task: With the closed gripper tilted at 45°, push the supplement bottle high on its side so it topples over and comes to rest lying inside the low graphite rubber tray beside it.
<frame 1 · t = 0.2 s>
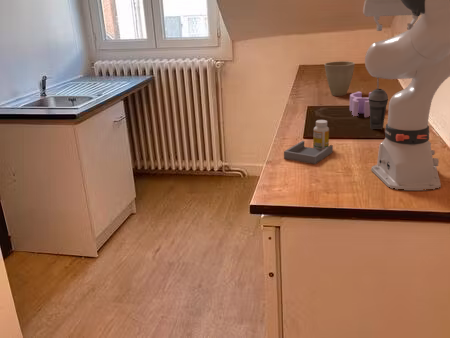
hand: (394, 30, 149), 39 cm above the countertop, tool pointing down, fingers open, 8 cm apart
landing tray: (308, 155, 158), on the countertop
clip: (363, 112, 208), on the countertop
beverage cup: (376, 128, 183), on the countertop
supplement bottle: (320, 147, 166), on the countertop
plant pot: (338, 94, 242), on the countertop
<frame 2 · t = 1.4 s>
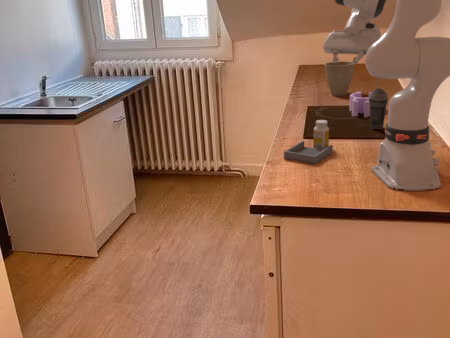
hand: (344, 62, 166), 28 cm above the countertop, tool tilted 45°, fingers open, 6 cm apart
nothing on the countertop moved.
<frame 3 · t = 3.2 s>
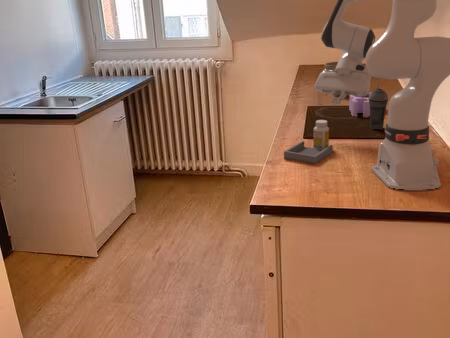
hand: (335, 102, 169), 14 cm above the countertop, tool tilted 45°, fingers closed
nothing on the countertop moved.
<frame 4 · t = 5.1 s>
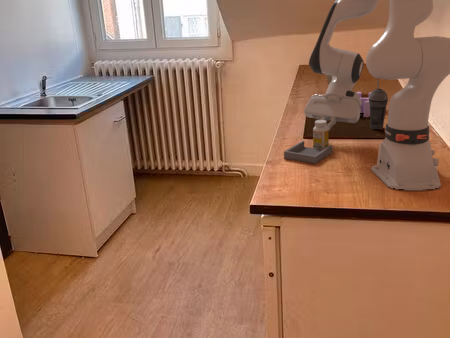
hand: (325, 129, 166), 6 cm above the countertop, tool tilted 45°, fingers closed, pressing on supplement bottle
supplement bottle: (320, 147, 165), on the countertop, touching gripper
everything else where it was.
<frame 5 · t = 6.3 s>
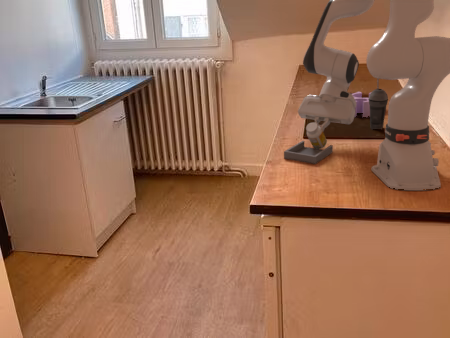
hand: (318, 130, 163), 6 cm above the countertop, tool tilted 45°, fingers closed, pressing on supplement bottle
supplement bottle: (320, 143, 165), point 1 cm above the countertop, touching gripper, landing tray
everything else where it was.
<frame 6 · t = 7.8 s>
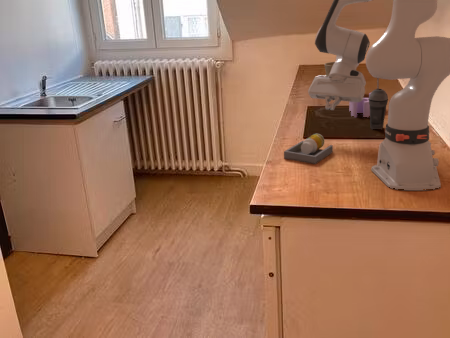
hand: (329, 109, 166), 13 cm above the countertop, tool tilted 45°, fingers closed
supplement bottle: (318, 140, 163), point 3 cm above the countertop, touching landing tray
everything else where it was.
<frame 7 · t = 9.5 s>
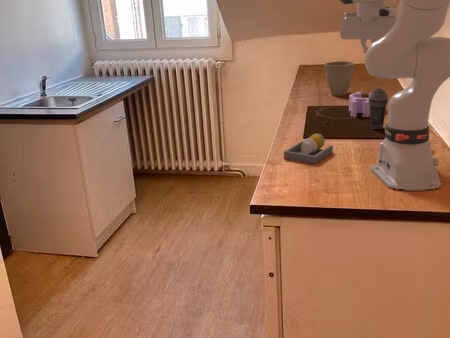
hand: (368, 52, 164), 31 cm above the countertop, tool pointing down, fingers closed
nothing on the countertop moved.
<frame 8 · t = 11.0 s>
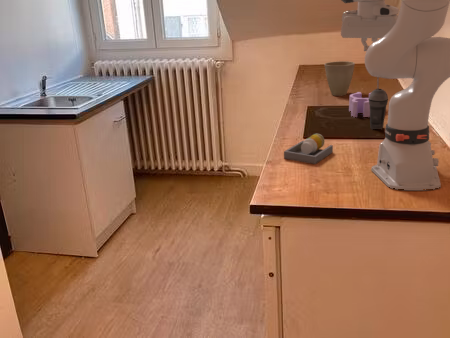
hand: (368, 51, 164), 31 cm above the countertop, tool pointing down, fingers closed
nothing on the countertop moved.
at the end: supplement bottle tilted 90°; supplement bottle touching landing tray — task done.
